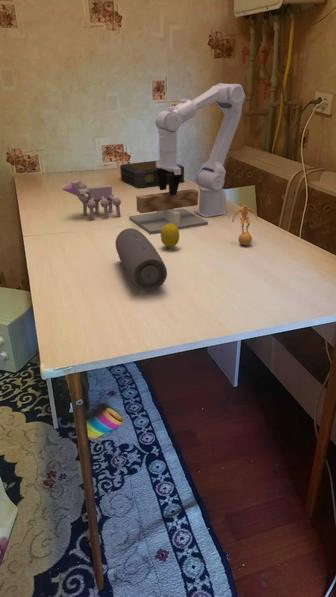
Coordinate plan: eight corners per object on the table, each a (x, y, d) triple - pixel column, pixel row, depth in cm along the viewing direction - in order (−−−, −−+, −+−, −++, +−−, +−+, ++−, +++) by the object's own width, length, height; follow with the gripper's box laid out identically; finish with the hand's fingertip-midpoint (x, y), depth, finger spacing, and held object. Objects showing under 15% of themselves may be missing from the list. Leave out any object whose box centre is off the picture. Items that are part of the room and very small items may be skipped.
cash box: (163, 174, 223) (163, 159, 219) (185, 182, 208) (185, 166, 204) (119, 180, 212) (118, 164, 208) (138, 189, 196) (137, 172, 193)
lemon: (181, 246, 133) (181, 220, 130) (175, 252, 129) (176, 226, 125) (164, 244, 135) (164, 219, 131) (158, 250, 130) (157, 224, 127)
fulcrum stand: (183, 211, 166) (183, 198, 164) (207, 224, 152) (208, 210, 149) (129, 219, 157) (128, 205, 155) (150, 234, 143) (150, 219, 141)
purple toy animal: (68, 224, 151) (63, 184, 146) (61, 217, 160) (57, 179, 154) (123, 217, 159) (120, 179, 153) (114, 211, 167) (111, 174, 162)
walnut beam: (192, 202, 158) (193, 188, 156) (197, 205, 155) (198, 191, 153) (136, 210, 149) (136, 196, 147) (141, 213, 146) (140, 198, 144)
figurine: (234, 248, 132) (236, 209, 126) (227, 241, 137) (230, 203, 132) (260, 246, 133) (264, 207, 128) (252, 239, 139) (256, 202, 133)
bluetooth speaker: (169, 293, 106) (169, 254, 101) (132, 298, 104) (130, 259, 99) (146, 258, 125) (146, 224, 121) (114, 261, 123) (112, 227, 118)
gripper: (147, 148, 148) (148, 188, 154) (167, 155, 136) (167, 198, 142) (166, 147, 150) (166, 186, 157) (186, 153, 139) (186, 196, 145)
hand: (167, 192), depth 150 cm, fingers open, 7 cm apart
